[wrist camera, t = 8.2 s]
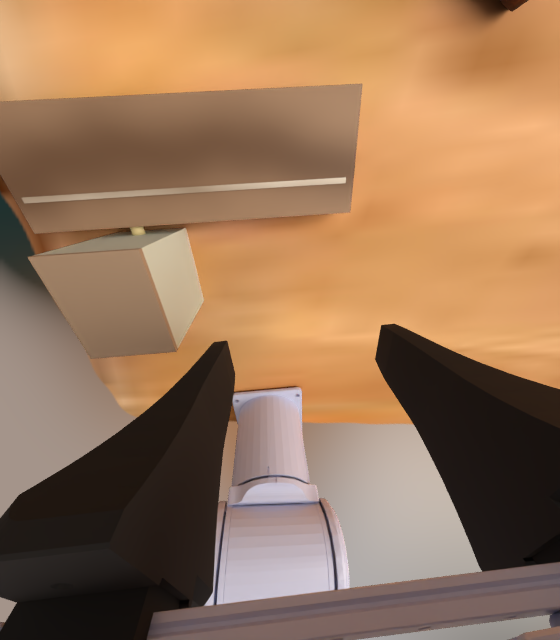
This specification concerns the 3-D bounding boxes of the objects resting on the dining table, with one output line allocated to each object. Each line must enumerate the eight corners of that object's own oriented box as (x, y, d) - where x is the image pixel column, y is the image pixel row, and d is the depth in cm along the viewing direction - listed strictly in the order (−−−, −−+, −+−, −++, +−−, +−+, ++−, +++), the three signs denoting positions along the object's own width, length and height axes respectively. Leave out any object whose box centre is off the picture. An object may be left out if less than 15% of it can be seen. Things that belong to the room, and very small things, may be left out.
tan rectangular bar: (338, 209, 17) (350, 212, 14) (65, 228, 16) (33, 233, 14) (346, 101, 14) (363, 82, 11) (9, 118, 13) (-43, 102, 11)
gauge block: (204, 300, 20) (176, 351, 13) (146, 304, 19) (91, 358, 13) (184, 220, 16) (134, 238, 10) (115, 224, 16) (20, 245, 10)
